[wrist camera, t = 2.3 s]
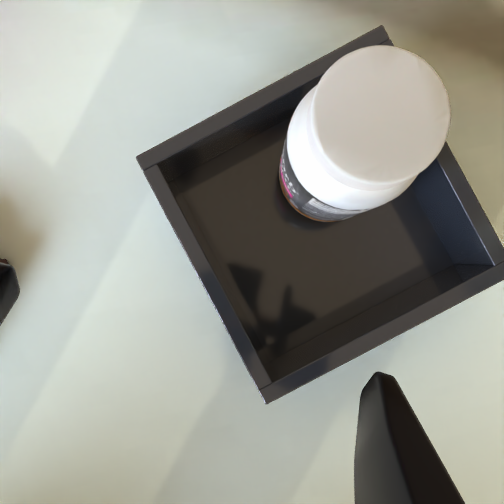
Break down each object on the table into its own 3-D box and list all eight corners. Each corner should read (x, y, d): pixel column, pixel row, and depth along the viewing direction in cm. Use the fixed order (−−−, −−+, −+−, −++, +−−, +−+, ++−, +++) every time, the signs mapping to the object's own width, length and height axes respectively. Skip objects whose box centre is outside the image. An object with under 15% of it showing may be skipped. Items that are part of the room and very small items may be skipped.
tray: (469, 269, 23) (517, 272, 18) (264, 377, 23) (265, 405, 19) (359, 66, 23) (382, 23, 19) (157, 174, 23) (134, 156, 19)
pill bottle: (279, 125, 23) (295, 24, 13) (377, 127, 23) (470, 27, 13) (276, 222, 23) (291, 197, 13) (375, 225, 23) (467, 200, 13)
